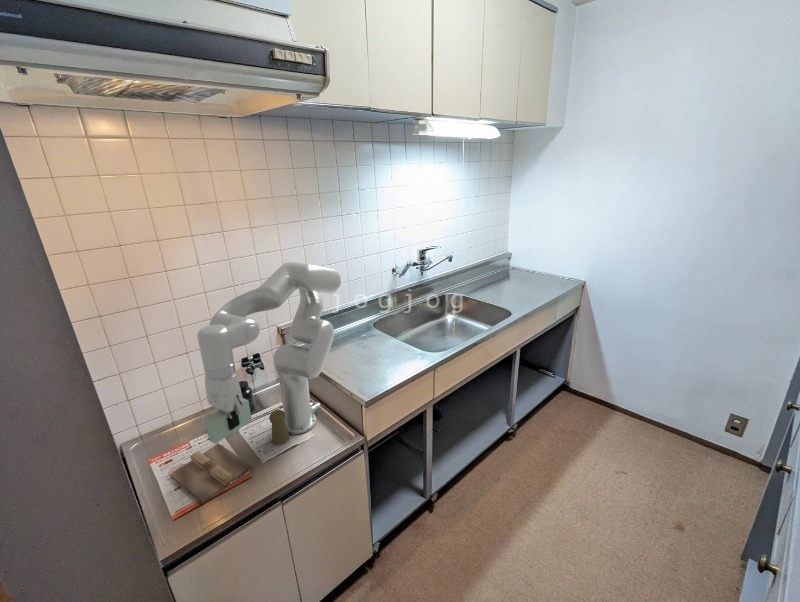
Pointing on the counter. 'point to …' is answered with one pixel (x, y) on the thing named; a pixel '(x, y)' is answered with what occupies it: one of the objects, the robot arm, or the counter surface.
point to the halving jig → (210, 472)
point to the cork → (279, 427)
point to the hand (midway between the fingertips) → (230, 424)
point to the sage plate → (226, 423)
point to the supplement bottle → (247, 394)
